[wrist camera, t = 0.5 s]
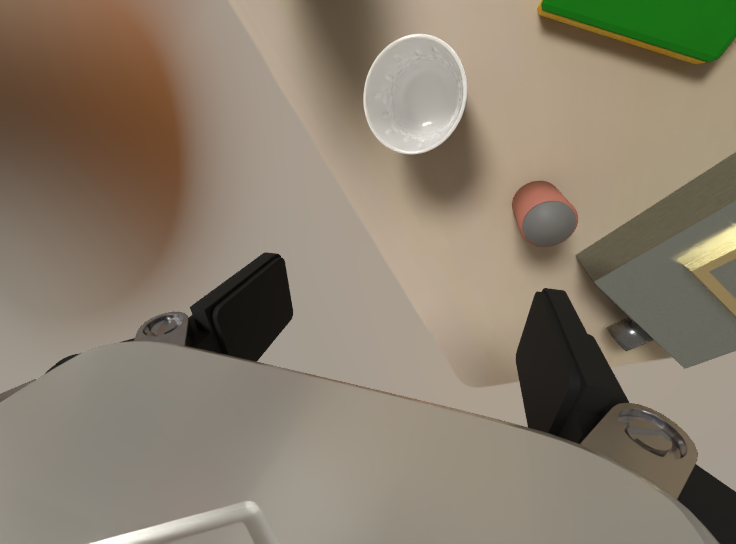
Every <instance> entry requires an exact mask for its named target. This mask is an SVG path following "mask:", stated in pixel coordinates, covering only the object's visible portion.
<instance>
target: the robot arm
mask: <svg viewBox="0 0 736 544" xmlns="http://www.w3.org/2000/svg"><path fill="white" fill-rule="evenodd" d="M190 309H191V312H192V314H193V315H192V316H190V317H189V318H188V316H187V315H186V314H185V313H182V312H168V313H164V314H161V315H158V316H155V317H153V318H151V319H149V320H148V321H146V322H145V323H144V324H143V325H141V326H140V328H139V329H138V331H137V334H136V336H135V338H134V339H130V340H127V341H123V342H119V343H113V344H108V345H103V346H99V347H95V348H92V349H90V350H88V351H85V352H83V353H80V354H75V355H71V356H68V357H66V358H64V359H62V360H61V361H59V362H58V363H56V365H55V366H53V367H52V368H50V370H48V371H47V372H46V373H45V374H44V375H43V376H41V377H40V378H38V379H34V380H32V381H29V382H27V383H25V384H22V385H20V386H18V387H15V388H13V389H11V390H8V391H6V392H3V393H1V394H0V544H736V492H735V491H734V490H732V489H731V488H729V487H728V486H726V485H725V484H723V483H722V482H721V481H719V480H718V479H716V478H715V477H713V476H712V475H710V474H709V473H708V472H706V471H705V470H703V469H702V468H700V467H699V466H698V465H696V462H697V457H698V452H697V449H696V447H695V444H694V443H693V441H692V440H691V439H690V437H689V436H688V435H687V433H686V432H685V431H683V430H682V429H681V428H680V427H679V426H678V425H677V424H676V423H674V422H673V421H671V420H670V419H669V418H667V417H666V416H664V415H662V414H661V413H659V412H657V411H654V410H653V409H650V408H648V407H645V406H642V405H639V404H632V403H629V401H628V399H627V397H626V396H625V394H624V392H623V390H622V388H621V386H620V385H619V383H618V381H617V379H616V377H615V375H614V373H613V372H612V370H611V368H610V366H609V364H608V362H607V360H606V359H605V357H604V355H603V353H602V351H601V349H600V347H599V346H598V344H597V342H596V340H595V339H594V337H593V336H591V335H589V334H587V332H586V330H585V328H584V326H583V324H582V323H581V321H580V319H579V317H578V315H577V313H576V311H575V309H574V307H573V305H572V303H571V301H570V299H569V298H568V296H567V294H566V292H565V291H563V290H556V289H548V288H544V289H543V290H542V292H536V293H535V296H534V299H533V302H532V305H531V308H530V311H529V314H528V318H527V321H526V324H525V327H524V330H523V333H522V337H521V340H520V343H519V346H518V349H517V353H516V365H517V370H518V376H519V381H520V386H521V392H522V397H523V402H524V408H525V413H526V418H527V423H528V428H527V427H523V426H520V425H517V424H513V423H509V422H505V421H502V420H498V419H494V418H490V417H486V416H482V415H478V414H474V413H470V412H465V411H462V410H458V409H454V408H450V407H446V406H441V405H437V404H433V403H429V402H425V401H420V400H417V399H412V398H408V397H404V396H400V395H396V394H392V393H388V392H383V391H379V390H375V389H371V388H367V387H362V386H358V385H354V384H350V383H346V382H341V381H337V380H333V379H328V378H324V377H320V376H316V375H311V374H307V373H303V372H299V371H294V370H290V369H286V368H281V367H277V366H273V365H268V364H264V363H260V362H257V361H258V359H259V358H260V357H261V356H262V354H263V353H264V352H265V351H266V350H267V348H268V347H269V346H270V345H271V344H272V342H273V341H274V340H275V339H276V337H277V336H278V335H279V333H281V331H282V330H283V329H284V328H285V326H286V325H287V324H288V323H289V322H290V320H291V319H292V316H293V308H292V302H291V296H290V290H289V284H288V278H287V273H286V266H285V261H284V259H283V258H281V256H280V255H279V254H274V253H263V254H262V255H260V256H259V257H258V258H256V259H255V260H254V261H252V262H251V263H250V264H248V265H247V266H245V267H244V268H243V269H241V270H240V271H239V272H238V273H236V274H235V275H233V276H232V277H230V278H229V279H228V280H226V281H225V282H224V283H222V284H221V285H219V286H218V287H217V288H216V289H214V290H213V291H211V292H210V293H209V294H208V295H206V296H204V297H203V298H202V299H200V300H199V301H198V302H196V303H195V304H193V305H192V306H191V307H190Z"/></svg>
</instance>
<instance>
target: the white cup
mask: <svg viewBox="0 0 736 544" xmlns="http://www.w3.org/2000/svg"><path fill="white" fill-rule="evenodd" d="M466 99H467V80H466V74H465V71H464V67H463V65H462V63H461V61H460V59H459V57H458V55H457V54H456V52H455V51H454V50H453V49H452V48H451V47H450V46H449V45H448V44H447V43H445V42H444V41H442V40H441V39H439V38H437V37H434V36H431V35H427V34H412V35H407V36H404V37H402V38H399V39H397V40H395V41H394V42H392V43H391V44H389V45H388V46H387V47H386V48H385V49H384V50H383V51H382V52H381V53H380V54H379V55H378V56H377V58H376V59H375V61H374V62H373V64H372V66H371V68H370V70H369V72H368V75H367V78H366V82H365V87H364V95H363V103H364V111H365V116H366V119H367V122H368V125H369V127H370V129H371V130H372V132H373V134H374V135H375V136H376V138H377V139H378V140H379V141H380V142H381V143H382V144H383V145H385V146H386V147H387V148H389V149H391V150H393V151H395V152H398V153H402V154H421V153H424V152H427V151H430V150H432V149H434V148H436V147H437V146H439V145H440V144H442V143H443V142H444V141H445V140H446V139H447V138H448V137H449V136H450V135H451V134H452V133H453V131H454V130H455V128H456V127H457V125H458V123H459V122H460V120H461V117H462V115H463V112H464V109H465V105H466Z"/></svg>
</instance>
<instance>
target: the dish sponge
mask: <svg viewBox="0 0 736 544" xmlns="http://www.w3.org/2000/svg"><path fill="white" fill-rule="evenodd" d="M538 13H539V15H540V16H544V17H547V18H550V19H553V20H556V21H559V22H563V23H566V24H569V25H572V26H575V27H578V28H582V29H585V30H588V31H591V32H594V33H597V34H601V35H604V36H607V37H610V38H613V39H616V40H620V41H623V42H626V43H629V44H632V45H635V46H638V47H642V48H645V49H648V50H651V51H654V52H657V53H661V54H664V55H667V56H670V57H673V58H676V59H680V60H683V61H686V62H689V63H692V64H701V63H706V62H711V61H714V60H716V59H718V58H720V56H721V55H722V54H723V52H724V51H725V50H726V49H727V47H728V46H729V45H730V44H731V42H732V41H733V40H734V38H735V37H736V0H541V2H540V4H539V6H538Z"/></svg>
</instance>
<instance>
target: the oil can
mask: <svg viewBox="0 0 736 544" xmlns="http://www.w3.org/2000/svg"><path fill="white" fill-rule="evenodd" d="M512 209H513V212H514V215H515V217H516V220H517V223H518V226H519V228H520V231H521V234H522V236H523V237H524V238H525V239H526V240H527V241H528V242H529V243H531V244H533V245H536V246H543V247H545V246H553V245H556V244H559V243H561V242H563V241H565V240H566V239H567V238H569V237H570V236H571V235H572V233H573V232H574V230H575V229H576V227H577V223H578V214H577V211H576V209H575V208H574V207H573V206H572V204H571V203H570V202H569V201H568V200H567V199H566V198H565V197H564V196H563V195H562V194H561V193H560V192H559V191H558V189H557V188H556V187H555V186H553V185H552V184H551V183H548V182H545V181H534V182H531V183H528V184H526V185H524V186H523V187H521V188H520V189H519V190H518V191H517V192H516V194H515V196H514V198H513V201H512Z"/></svg>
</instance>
